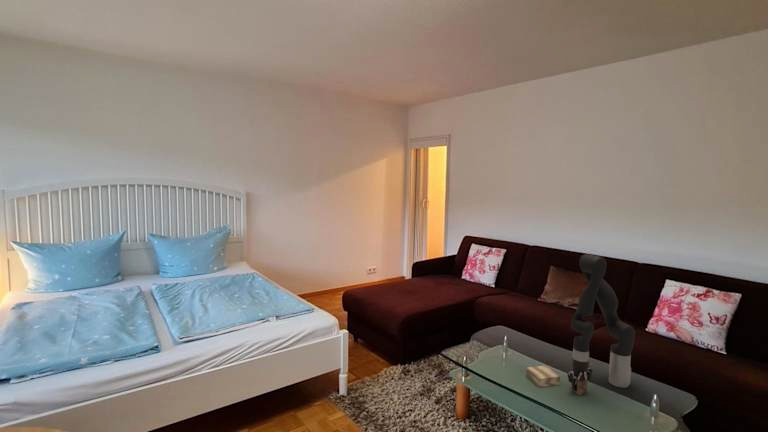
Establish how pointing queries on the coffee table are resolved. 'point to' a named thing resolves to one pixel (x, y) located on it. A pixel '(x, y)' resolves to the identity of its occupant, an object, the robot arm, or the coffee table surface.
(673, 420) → the coffee table surface
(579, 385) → the walnut block
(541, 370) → the birch block
